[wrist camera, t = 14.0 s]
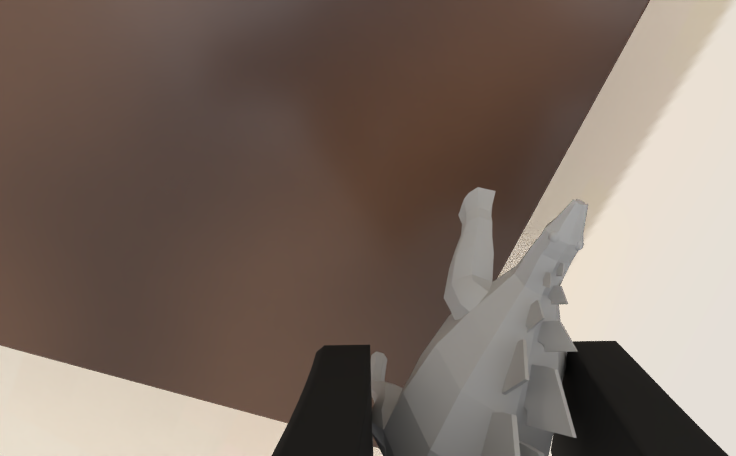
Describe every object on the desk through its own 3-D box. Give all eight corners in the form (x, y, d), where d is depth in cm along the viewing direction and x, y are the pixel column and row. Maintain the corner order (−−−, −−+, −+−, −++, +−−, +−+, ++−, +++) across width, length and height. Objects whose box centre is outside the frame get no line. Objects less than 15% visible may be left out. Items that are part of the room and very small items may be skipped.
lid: (637, -12, 11) (652, -3, 10) (400, 430, 16) (400, 455, 15) (-111, -310, 9) (-148, -321, 8) (-108, 290, 14) (-130, 311, 13)
